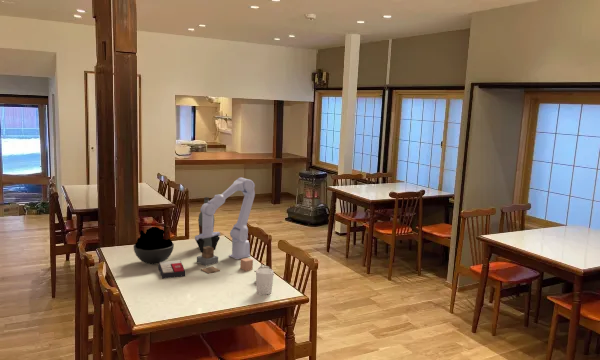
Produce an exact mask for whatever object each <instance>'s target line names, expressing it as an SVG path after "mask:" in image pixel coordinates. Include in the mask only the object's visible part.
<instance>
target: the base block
mask: <svg viewBox="0 0 600 360" xmlns="http://www.w3.org/2000/svg"><path fill="white" fill-rule="evenodd" d="M196 263H198V264H201V265H203V266H210V265H214V264H217V263H219V256H217V255H215V254H214V257H211V258H207V259H206V258H204V257H202V254H200V255H197V256H196Z"/></svg>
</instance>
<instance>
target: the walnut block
mask: <svg viewBox="0 0 600 360" xmlns="http://www.w3.org/2000/svg"><path fill="white" fill-rule="evenodd" d="M214 251H215V250H214V248H213V247H210V246H207V247H203V253H201V255H202V257H204V258H206V259H207V258H211V257H214V255H215V254H214V253H215V252H214Z"/></svg>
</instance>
